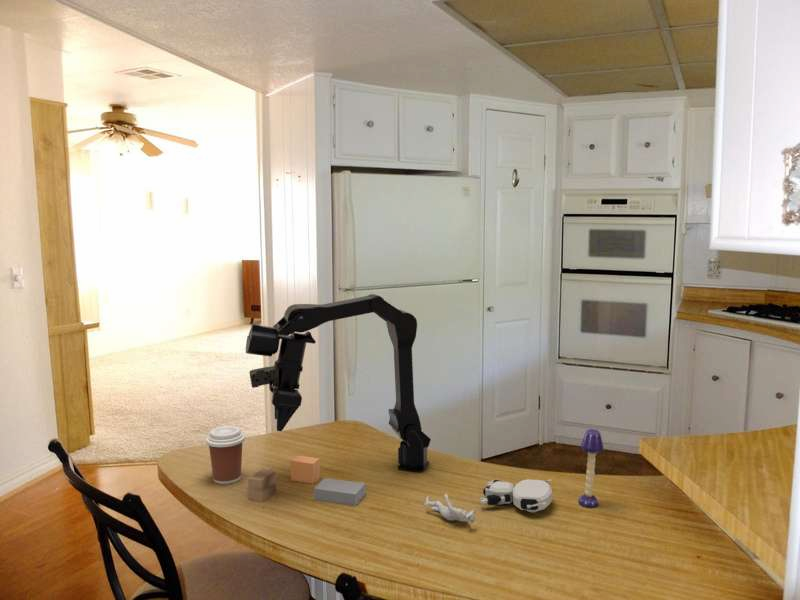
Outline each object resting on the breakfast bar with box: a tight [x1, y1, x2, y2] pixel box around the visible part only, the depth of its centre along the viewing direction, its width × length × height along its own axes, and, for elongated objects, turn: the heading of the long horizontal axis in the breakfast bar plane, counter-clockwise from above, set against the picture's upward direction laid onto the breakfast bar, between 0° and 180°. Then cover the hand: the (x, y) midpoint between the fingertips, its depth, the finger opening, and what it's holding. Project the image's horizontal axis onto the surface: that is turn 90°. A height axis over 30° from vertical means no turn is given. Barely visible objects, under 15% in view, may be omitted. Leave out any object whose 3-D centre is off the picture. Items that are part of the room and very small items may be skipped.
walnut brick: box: [247, 468, 277, 503], centre depth 143 cm, size 6×3×5 cm, turn 160°
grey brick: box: [313, 477, 367, 507], centre depth 142 cm, size 10×6×3 cm, turn 72°
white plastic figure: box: [424, 493, 476, 525], centre depth 132 cm, size 8×5×12 cm
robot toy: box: [479, 478, 553, 514], centre depth 138 cm, size 12×4×15 cm
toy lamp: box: [578, 428, 604, 509], centre depth 137 cm, size 5×5×17 cm
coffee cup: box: [205, 425, 246, 485], centre depth 152 cm, size 9×9×12 cm
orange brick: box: [289, 455, 321, 485], centre depth 152 cm, size 6×3×5 cm, turn 70°
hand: (278, 424), depth 146 cm, fingers open, 9 cm apart
